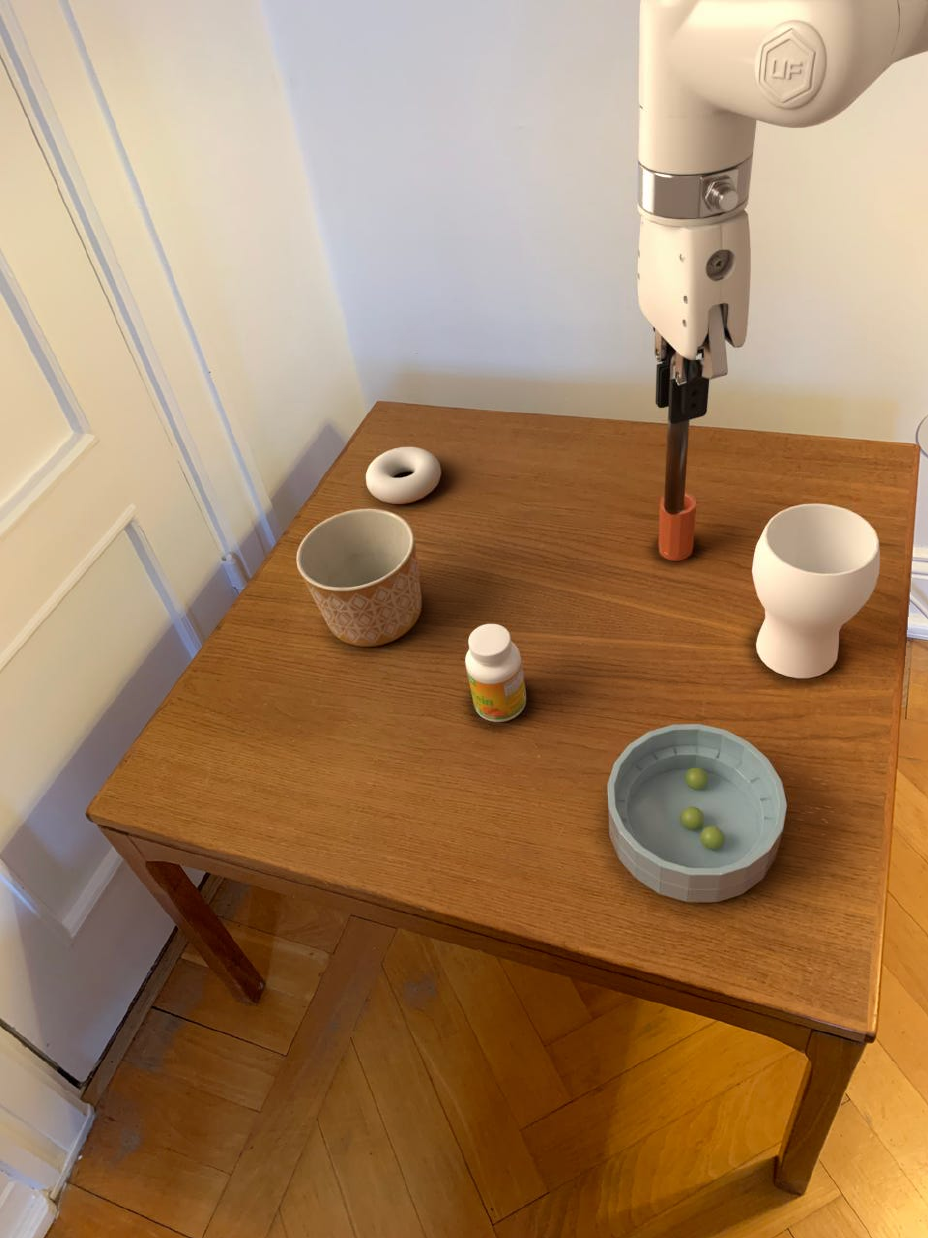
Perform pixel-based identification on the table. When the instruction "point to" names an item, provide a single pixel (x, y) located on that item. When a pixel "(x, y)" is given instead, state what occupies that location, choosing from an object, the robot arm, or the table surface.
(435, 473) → the donut
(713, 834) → the pea
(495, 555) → the table surface
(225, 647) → the table surface
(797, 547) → the cup
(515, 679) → the supplement bottle
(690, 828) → the pea
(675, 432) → the stick
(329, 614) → the planter
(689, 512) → the holder
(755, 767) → the bowl
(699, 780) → the pea
